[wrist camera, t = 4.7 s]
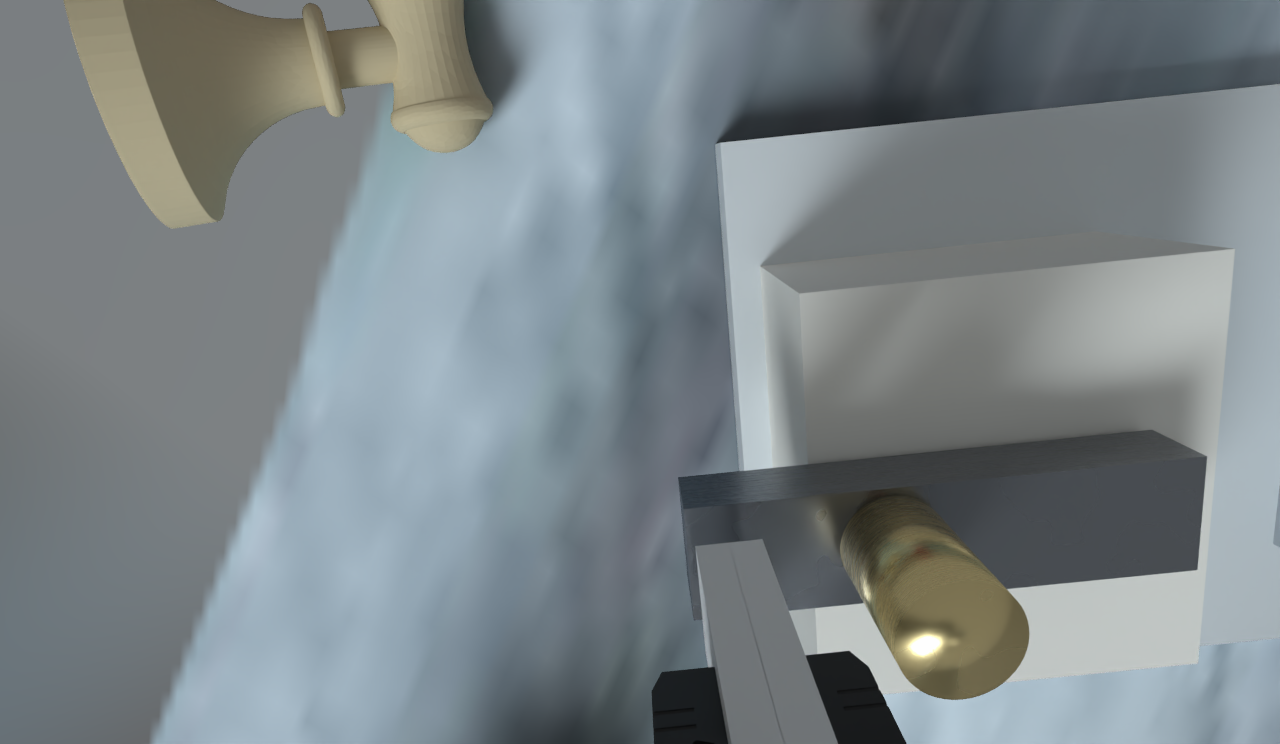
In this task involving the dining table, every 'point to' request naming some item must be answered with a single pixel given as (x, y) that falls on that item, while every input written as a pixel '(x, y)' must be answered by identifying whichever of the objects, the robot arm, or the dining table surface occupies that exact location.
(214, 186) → the door knob
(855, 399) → the white stepped platform
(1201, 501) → the bolt
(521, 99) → the dining table surface
